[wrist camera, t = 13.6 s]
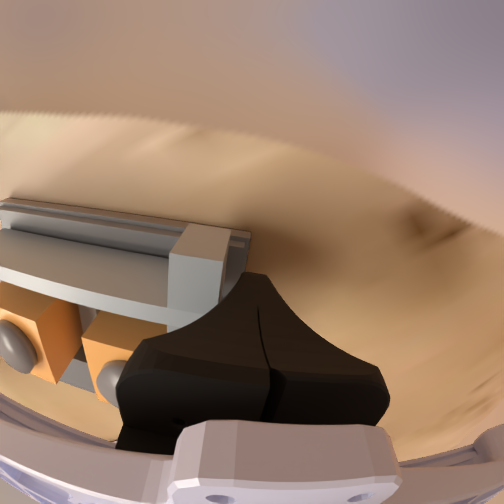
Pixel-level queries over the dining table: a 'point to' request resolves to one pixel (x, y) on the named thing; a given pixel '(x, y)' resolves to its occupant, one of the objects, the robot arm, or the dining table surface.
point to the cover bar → (123, 274)
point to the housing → (110, 236)
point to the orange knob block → (38, 332)
